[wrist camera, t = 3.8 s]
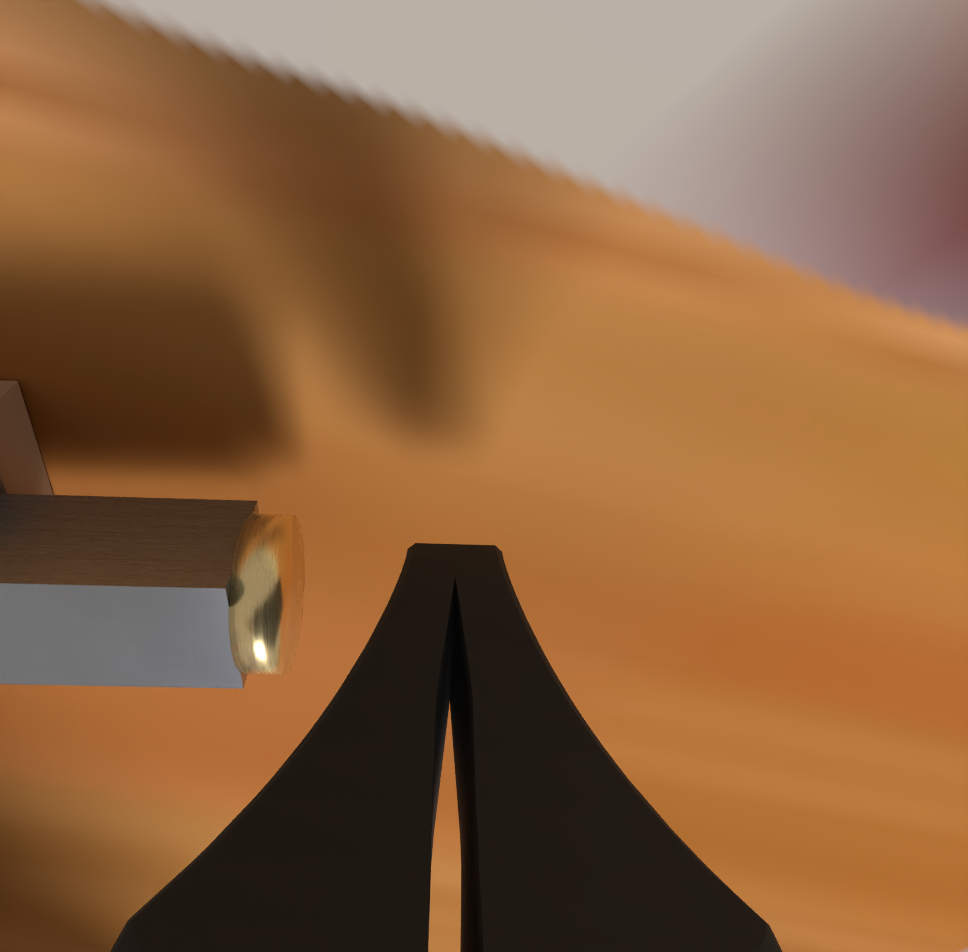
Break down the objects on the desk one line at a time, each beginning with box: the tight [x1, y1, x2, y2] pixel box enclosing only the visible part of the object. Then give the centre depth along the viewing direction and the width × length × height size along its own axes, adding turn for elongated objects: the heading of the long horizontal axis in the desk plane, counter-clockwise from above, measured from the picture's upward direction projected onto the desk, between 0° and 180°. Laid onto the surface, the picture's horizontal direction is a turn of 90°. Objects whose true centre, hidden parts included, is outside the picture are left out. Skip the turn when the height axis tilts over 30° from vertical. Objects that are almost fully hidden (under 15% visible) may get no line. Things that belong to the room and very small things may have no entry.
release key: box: [0, 494, 304, 688], centre depth 12 cm, size 2×9×2 cm, turn 87°
